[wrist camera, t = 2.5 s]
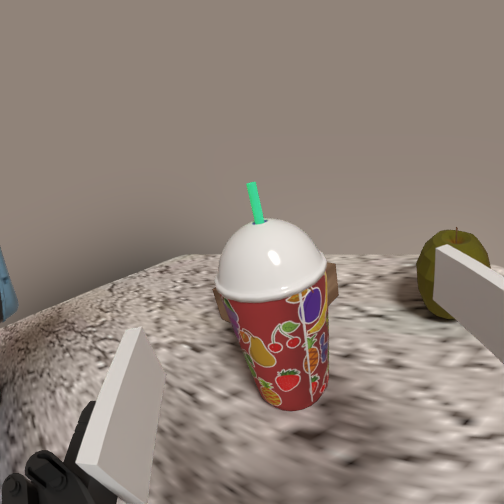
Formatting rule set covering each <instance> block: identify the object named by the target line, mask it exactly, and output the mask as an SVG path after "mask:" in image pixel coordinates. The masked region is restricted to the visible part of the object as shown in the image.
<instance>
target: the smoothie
mask: <svg viewBox="0 0 504 504" xmlns="http://www.w3.org/2000/svg"><path fill="white" fill-rule="evenodd" d="M247 188H248V193H249V198H250V202H251V206H252V211H253V215H254V220H255V221H252V222H250V223H248V224H246V225H244V226H243V227H241V228H240V229H239V230H237V231H236V232H235V233H234V234H233V235H232V236H231V237H230V239H229V240H228V241H227V243H226V245H225V247H224V249H223V252H222V255H221V257H220V261H219V267H218V272H217V274H216V277H215V279H214V283H215V286H216V289H217V291H218V293H219V294H220V296H221V299H222V302H223V304H224V307H225V309H226V312H227V314H228V317H229V319H230V322H231V324H232V327H233V329H234V332H235V334H236V337H237V339H238V342H239V344H240V347H241V349H242V351H243V354H244V356H245V359H246V361H247V364H248V366H249V368H250V371H251V373H252V375H253V378H254V380H255V382H256V385H257V387H258V390H259V392H260V394H261V396H262V398H263V399H265V400H266V401H267V402H268V403H269V404H272V405H273V406H275V407H276V408H279V409H281V410H286V411H296V410H302V409H304V408H307V407H309V406H311V405H312V404H314V403H315V402H316V401H317V400H318V399H319V398H320V396H321V395H322V393H323V392H324V390H325V389H326V387H327V385H328V380H329V324H328V292H327V273H326V267H327V260H326V258H325V255H324V254H323V253H322V252H321V251H319V250H318V249H317V247H316V245H315V244H314V242H313V241H312V239H311V238H310V237H309V236H308V235H307V234H306V233H305V232H304V231H303V230H301V229H300V228H299V227H297V226H295V225H294V224H292V223H290V222H287V221H284V220H279V219H272V218H263V213H262V209H261V204H260V200H259V195H258V191H257V186H256V182H251V183H248V184H247Z"/></svg>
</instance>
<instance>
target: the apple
mask: <svg viewBox="0 0 504 504" xmlns="http://www.w3.org/2000/svg"><path fill="white" fill-rule="evenodd" d="M457 229H458V228H457V227H456V230H443V231H440V232H439V233H437V234H436V235H434V236H433V237H432V238H431V239H430V240H429V241H427V242H426V243H425V245H424V247H423V249H422V251H421V254H420V256H419V258H418V260H417V263H416V266H417V282H418V288H419V291H420V294H421V296H422V299H423V301H424V304H425V305H426V307H427V308H428V310H429V311H430V312H432V313H433V314H435V315H436V316H439V317H442V318H446V319H455V318H454V317H452V316H451V315H450V314H449V313H448V312H447V311H446V310H444V309H443V308H442V307H441V306H440V305H439V304H437V303H436V302H435V301H434V300H433V291H434V277H435V252H436V248H437V247H440V246H443V245H446V244H448V245H450V246H452V247H453V248H455V249H457V250H459V251H461V252H462V253H464V254H466V255H468V256H470V257H471V258H473V259H475V260H476V261H478V262H480V263H482V264H483V265H485V266H487V267H488V268H490V269H491V267H490V262H489V258H488V254H487V252H486V250H485V249H484V247H483V246H482V244H481V243H480V241H479V240H478V239H477V238H476V237H475V236H474V235H473V234H471V233H467V232H462V231H457Z"/></svg>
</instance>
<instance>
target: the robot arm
mask: <svg viewBox="0 0 504 504" xmlns="http://www.w3.org/2000/svg"><path fill="white" fill-rule="evenodd" d="M433 300H434V301H435V302H436V303H437V304H439V305H440V306H441V307H442V308H443V309H444V310H446V311H447V312H448V313H449V314H450V315H451V316H452V317H454V318H455V319H456V320H457V321H458V322H459V323H460V324H461V325H463V326H464V327H465V328H466V329H467V330H468V331H469V332H470V333H471V334H472V335H474V336H475V337H476V338H477V339H478V340H479V341H480V342H481V343H482V344H483V345H484V346H485V347H486V348H487V349H489V350H490V351H491V352H492V353H493V354H494V355H495V356H496V357H497V358H498V359H499V360H500V361H501V362H502V363H503V364H504V277H503V276H502V275H500V274H498V273H497V272H495V271H493V270H492V269H490V268H488V267H487V266H485V265H483V264H482V263H480V262H478V261H476V260H475V259H473V258H471V257H470V256H468V255H466V254H464V253H462V252H461V251H459V250H457V249H455V248H453V247H452V246H450V245H448V244H446V245H443V246H440V247H437V248H436V252H435V277H434V291H433ZM17 309H18V299H17V297H16V294H15V291H14V288H13V285H12V282H11V279H10V276H9V273H8V270H7V267H6V264H5V261H4V258H3V255H2V251H1V247H0V323H1V322H4V321H5V320H6V319H7V318H8V317H10V316H11V315H13V314H14V313H15V312H16V311H17ZM166 375H167V374H166V373H165V371H164V369H163V367H162V365H161V363H160V362H159V360H158V358H157V356H156V354H155V352H154V350H153V348H152V346H151V344H150V342H149V340H148V338H147V336H146V334H145V332H144V330H143V328H142V327H137V328H132V329H127V330H126V331H125V333H124V335H123V338H122V340H121V342H120V345H119V347H118V349H117V352H116V354H115V356H114V359H113V361H112V363H111V366H110V368H109V371H108V373H107V376H106V378H105V381H104V383H103V386H102V388H101V391H100V393H99V396H98V398H97V401H90V402H89V403H88V405H87V406H86V407H85V408H84V410H83V411H82V413H81V415H80V418H79V421H78V424H77V426H76V428H75V433H74V434H73V437H72V439H71V442H70V445H69V448H68V451H67V453H66V456H65V459H64V462H62V461H61V460H60V459H59V458H57V457H56V456H55V455H54V454H53V453H52V452H50V451H48V450H41V451H38V452H36V453H35V454H33V455H32V456H31V457H30V458H29V460H28V461H27V463H26V467H25V475H26V476H27V477H28V478H29V479H30V480H32V481H29V480H28V479H26V478H25V477H24V476H23V475H21V474H19V473H13V474H11V475H9V476H8V477H7V478H6V479H5V481H4V483H3V486H2V504H116V502H117V497H119V498H120V499H121V500H123V501H124V502H126V503H128V504H148V495H149V486H150V477H151V469H152V462H153V454H154V447H155V440H156V433H157V427H158V421H159V414H160V408H161V403H162V397H163V391H164V385H165V380H166ZM0 402H1V390H0Z"/></svg>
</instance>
